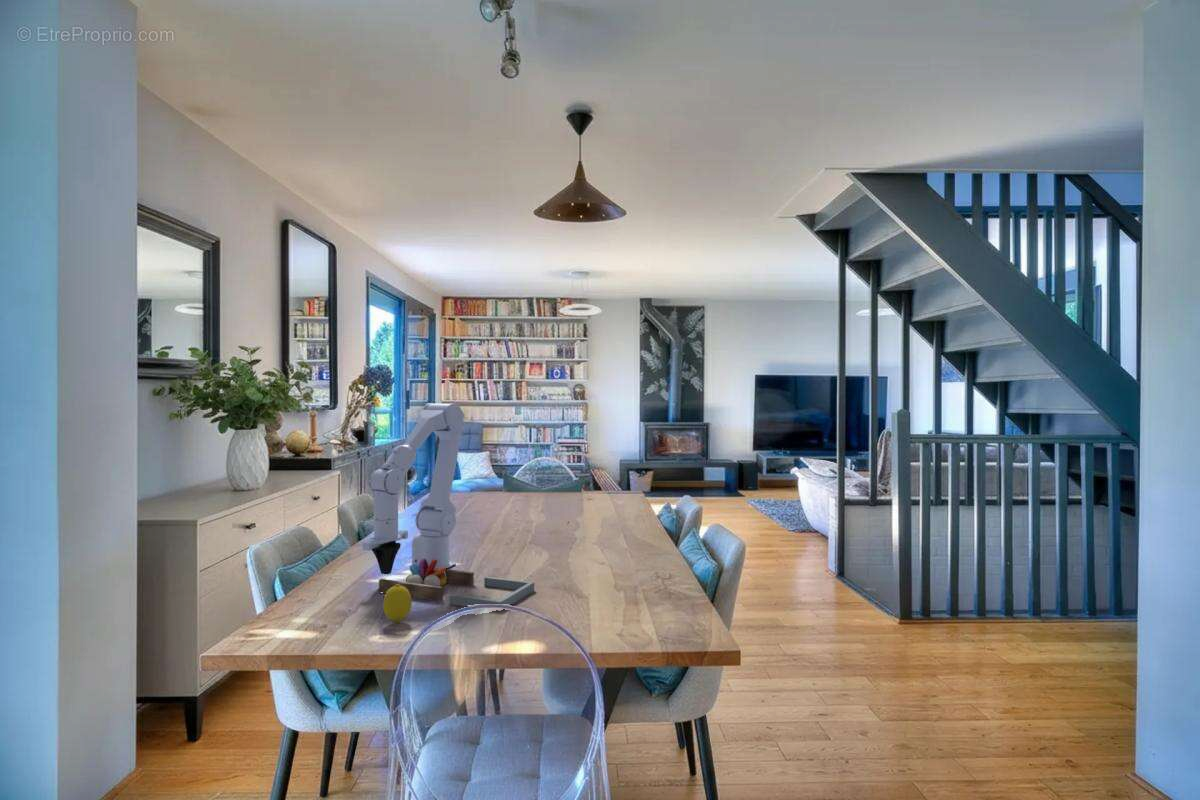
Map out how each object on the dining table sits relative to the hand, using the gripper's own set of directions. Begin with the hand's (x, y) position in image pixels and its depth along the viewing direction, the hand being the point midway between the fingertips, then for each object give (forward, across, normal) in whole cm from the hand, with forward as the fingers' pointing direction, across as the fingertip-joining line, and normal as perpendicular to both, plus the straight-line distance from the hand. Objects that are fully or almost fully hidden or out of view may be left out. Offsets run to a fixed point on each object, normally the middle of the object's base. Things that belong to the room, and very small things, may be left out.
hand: (385, 573), depth 163 cm
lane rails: (+2, 0, -12) cm, 12 cm away
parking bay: (+2, 0, -30) cm, 30 cm away
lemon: (+3, -22, -21) cm, 30 cm away
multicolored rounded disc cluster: (+3, 0, -12) cm, 12 cm away
